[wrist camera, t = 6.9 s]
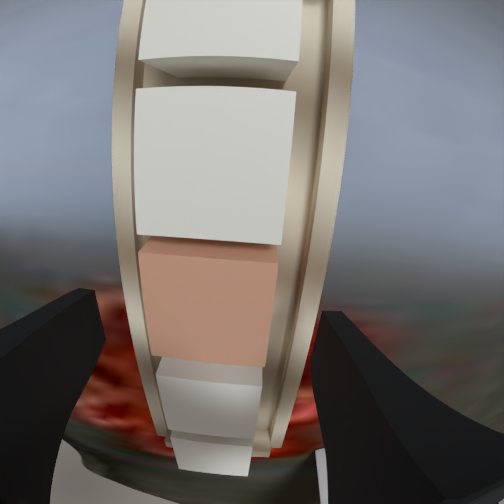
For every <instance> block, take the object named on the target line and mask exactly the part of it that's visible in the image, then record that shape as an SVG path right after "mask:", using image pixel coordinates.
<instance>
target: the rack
mask: <svg viewBox="0 0 504 504" xmlns="http://www.w3.org/2000/svg"><path fill="white" fill-rule="evenodd" d="M145 3H146V0H124V3H123V9H122V15H121V21H120V28H119V36H118V44H117V53H116V63H115V74H114V88H113V108H112V178H113V199H114V214H115V226H116V237H117V246H118V255H119V263H120V271H121V278H122V285H123V292H124V298H125V304H126V310H127V316H128V321H129V326H130V331H131V336H132V341H133V346H134V351H135V355H136V360H137V364H138V368H139V372H140V376H141V380H142V384H143V388H144V392H145V396H146V399H147V403H148V406H149V410H150V413H151V417H152V420H153V423H154V427H155V430H156V433H157V435H158V436H163V437H165V444H166V447H171V448H173V446H172V442H171V439H170V436H171V432H172V430H169V429H168V427H167V423H166V419H165V415H164V411H163V406H162V402H161V398H160V393H159V389H158V384H157V379H156V372H157V369H158V367H159V364H160V361H161V358H162V357H161V356H154V355H152V354H151V348H150V342H149V336H148V330H147V323H146V317H145V310H144V302H143V294H142V286H141V277H140V268H139V258H138V252H139V251H140V249H141V248H142V247H143V246H144V245H145V243H146V242H147V241H148V240H149V239H150V238H151V236H152V235H137V229H136V213H135V189H134V119H135V96H136V89H138V88H152V87H173V86H230V87H251V88H265V89H277V90H287V91H296V102H295V114H294V126H293V137H292V147H291V158H290V168H289V178H288V188H287V197H286V206H285V216H284V225H283V233H282V242H281V245H277V253H278V262H279V265H278V273H277V281H276V289H275V297H274V305H273V312H272V320H271V327H270V335H269V342H268V349H267V356H266V363H265V367H262V391H261V398H260V404H259V411H258V417H257V424H256V430H255V436H254V439H253V448H252V454H251V456H252V457H269V455H270V448H281V446H282V443H283V439H284V436H285V433H286V430H287V426H288V423H289V420H290V416H291V413H292V410H293V406H294V403H295V399H296V395H297V392H298V388H299V385H300V381H301V377H302V373H303V370H304V366H305V362H306V358H307V354H308V350H309V346H310V342H311V338H312V333H313V329H314V325H315V320H316V316H317V312H318V307H319V302H320V298H321V293H322V288H323V283H324V278H325V273H326V268H327V263H328V258H329V253H330V247H331V242H332V236H333V230H334V224H335V218H336V212H337V206H338V199H339V193H340V186H341V179H342V171H343V164H344V156H345V148H346V139H347V130H348V120H349V110H350V99H351V86H352V72H353V55H354V32H355V0H303V2H302V20H301V36H300V51H299V62H298V63H297V65H296V66H295V68H294V69H293V71H292V73H291V74H290V76H289V77H288V79H287V80H286V82H285V81H274V80H262V79H247V78H220V77H190V78H177V77H175V76H173V75H171V74H169V73H167V72H164V71H162V70H160V69H158V68H156V67H153V66H151V65H149V64H146V63H144V62H142V61H140V60H138V57H139V48H140V39H141V31H142V23H143V16H144V10H145Z"/></svg>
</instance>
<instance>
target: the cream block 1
mask: <svg viewBox="0 0 504 504" xmlns="http://www.w3.org/2000/svg"><path fill="white" fill-rule="evenodd" d="M302 2H303V0H146V3H145V10H144V16H143V23H142V31H141V39H140V48H139V57H138V60H140V61H142V62H144V63H146V64H149V65H151V66H153V67H156V68H158V69H160V70H162V71H164V72H167V73H169V74H171V75H173V76H175V77H177V78H190V77H220V78H247V79H262V80H274V81H285V82H286V80H287V79H288V77H289V76H290V74H291V73H292V71H293V69H294V68H295V66H296V65H297V63H298V62H299V51H300V36H301V20H302Z"/></svg>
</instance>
